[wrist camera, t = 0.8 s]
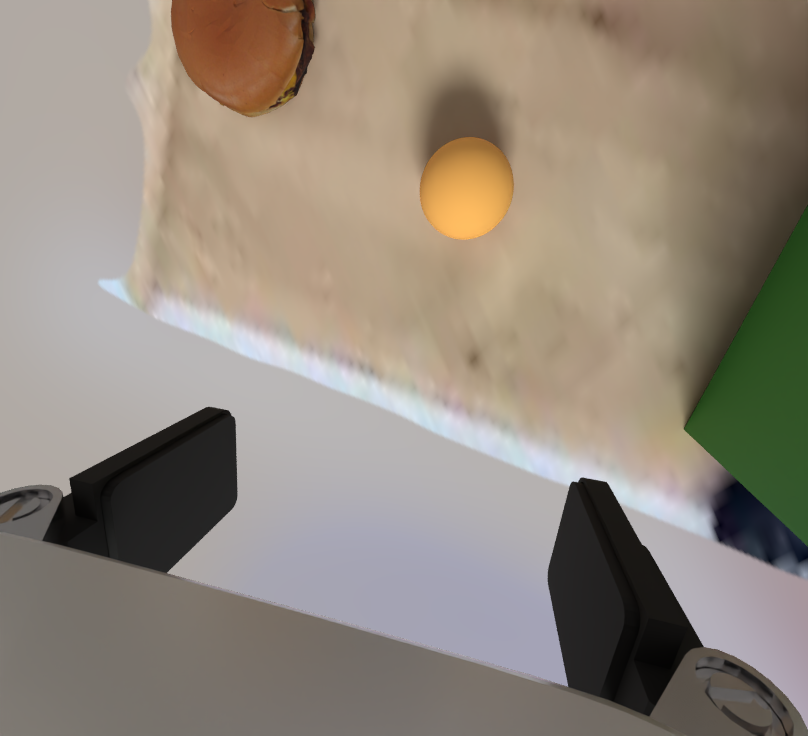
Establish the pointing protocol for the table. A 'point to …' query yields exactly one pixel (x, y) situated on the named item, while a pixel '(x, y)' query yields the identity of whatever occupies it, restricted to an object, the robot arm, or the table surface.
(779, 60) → the table surface
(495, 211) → the ball
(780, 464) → the hardback book
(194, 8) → the burger
